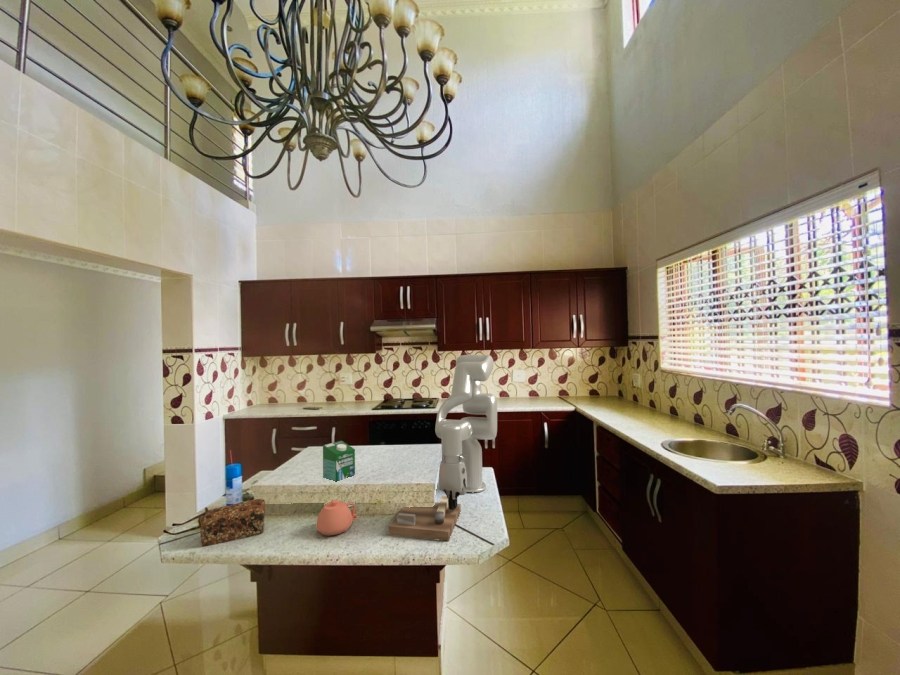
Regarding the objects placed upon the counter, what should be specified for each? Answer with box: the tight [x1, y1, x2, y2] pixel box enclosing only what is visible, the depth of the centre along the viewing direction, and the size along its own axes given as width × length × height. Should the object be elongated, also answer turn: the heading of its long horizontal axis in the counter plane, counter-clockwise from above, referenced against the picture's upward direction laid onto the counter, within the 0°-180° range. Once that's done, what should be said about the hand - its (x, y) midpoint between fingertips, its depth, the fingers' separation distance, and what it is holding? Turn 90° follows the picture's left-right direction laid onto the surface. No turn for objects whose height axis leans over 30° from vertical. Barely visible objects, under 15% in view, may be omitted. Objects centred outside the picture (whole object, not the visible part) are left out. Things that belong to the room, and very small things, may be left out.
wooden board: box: [387, 501, 462, 542], centre depth 128 cm, size 21×21×6 cm
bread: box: [199, 498, 266, 548], centre depth 123 cm, size 19×11×10 cm, turn 115°
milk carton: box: [322, 440, 356, 482], centre depth 144 cm, size 9×9×25 cm
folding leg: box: [435, 495, 448, 524], centre depth 129 cm, size 17×3×3 cm, turn 172°
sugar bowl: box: [315, 500, 358, 536], centre depth 125 cm, size 12×14×10 cm
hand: (452, 508), depth 130 cm, fingers closed
